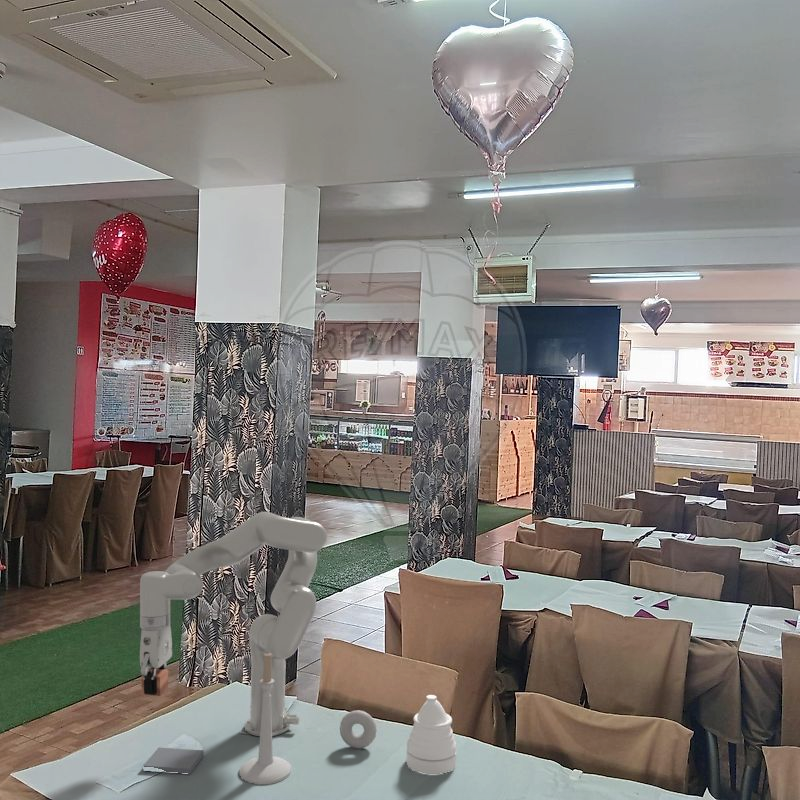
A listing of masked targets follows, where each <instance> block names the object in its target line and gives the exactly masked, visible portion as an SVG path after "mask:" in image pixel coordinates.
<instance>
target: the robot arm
mask: <svg viewBox="0 0 800 800" xmlns="http://www.w3.org/2000/svg"><path fill="white" fill-rule="evenodd" d="M327 535H328V534H327V531H326V529H325V528H324V526H323V525H322V524H321V523H319V522H317V521H313V520H310V519H308V518H305V517H301V516H293V517H290V518H289V517H285V516H281V515H278V514H276V513H272V512H269V511H260V512H258V513H256V514H255V515H253V516H251V517H250V518H248V519H247V520H245V521H244V522H242V523H241V524H240V525H238V526H236V527H235V528H234V529H232V530H230V531H229V532H227V534H225V535H224V536H222V537H220V538H218V539H216V540H213V541H211V542H208V543H206V544H203V545H202V546H199V547H197V548H194V549H192V550H190V551H189V552H188V553H186V554H185V555H183V556H181V557H180V558H178V559H177V560H176V561H174V562H173V563H171V565H169V566H168V567H167V569H166V570H165V571H163V570H154V571H148V572H145V573H143V574H142V575H141V577H140V579H139V581H140V582H139V583H140V584H139V585H140V586H139V593H140V594H139V596H140V597H139V604H140V605H139V628H140V629H141V634H140V643H139V644H140V645H139V646H140V647H139V666H140V667H141V668H140V674H141V676H142V675H143V679H144V694H150V695H149V696H152V695H155V694H156V693H157V679H155V675H156V669H166V670H167V668H168V665H167V662H168V661H169V660H170V659H171V658H172V657H173V639H172V627H171V600H176V601H177V600H179V601H180V600H183V601H187V600H192V599H195V598H196V597H198V596H199V595H200V594H201V592H202V591H203V588H204V581H203V579H202V577H201V576H202V575H204V574H206V573H208V572H209V571H212V570H215V569H219V568H225V567H226V568H227V567H233V566H236V565H239V564H240V563H242V562H243V561H244V560H246V559H247V558H249V557H250V556H251V555H253V554H254V553H256V552H257V551H258V550H260V549H262V548H263V547H264V546H269V547H272V548H275V549H282V550H286V551H287V550H288V557H287V560H286V563H285V566H284V568H283V570H282V572H281V575H280V576H279V578H278V580H277V582H276V583H275V586H274V588H273V590H272V591H271V595H270V598H269V599H270V600H269V601H270V604H271V606H272V608H273V609H275V610H276V611H277V612H278V613H279V615H278V616H276V615H274V614H270V613H265V614H261V615H258V616H257V617H256V618H255V619H253V621H252V623H251V625H250V628H249V632H248V633H249V634H248V636H249V638H248V639H249V647H250V657H251V658H250V659H251V660H250V661H251V662H250V663H251V664H250V665H251V669H250V670H251V673H250V712H249V713H250V714H249V715H250V717H249V718H248V719H247V720H246V721H245V722H244V731H245V732H246V731H247V732H246V733H247V734H249V735H252V736H256V737H260V731H261V717H262V702H263V694H264V691H263V689H262V683H261V682H260V680H262V679H263V664H264V654H265V653H271V654H272V664H271V679H274V682H273V683H272V688H271V691H270V694H271V716H272V737H275V736H278V735H281V734H284V733H286V732H287V731H288V730H289V729H290V727H291V725H295V726H296V725H297V726H298V725H299V724H300V717H299V716H298V714H290V713H288V708H287V707H286V702H285V701H286V668H287V667H286V660H287V659H288V658H290V657H292V655H294V654H295V653H296V651H297V650H298V648H299V646H300V645H301V643H302V641H303V640H304V637H305V634H306V633H307V630H308V629H309V627H310V625H311V622H312V620H313V619H314V616H315V614H316V609H317V599H316V598H317V597H316V595H315V594H314V592H313V591H312V590H311V588H309V586H310V584H311V581H312V580H313V579H312V578H313V577H314V575H315V573H316V570H317V569H316V568H317V565H318V552H319V551H320V550H322V549H323V548H324V546H325V545H326V543H327V540H328V539H327V538H328V536H327ZM150 665H151V666H150ZM149 669H152V673H151V672H150V671H148V670H149ZM285 707H286V708H285Z"/></svg>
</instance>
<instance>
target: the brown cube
mask: <svg viewBox="0 0 800 800" xmlns="http://www.w3.org/2000/svg"><path fill="white" fill-rule="evenodd" d="M148 671H150V672H151V673H152V669H148ZM140 678H141V679H140V680H141V682H140V683H141V689H140V690H141V691H140V693H141V696H153V697H154V696H155V697H160V696H162V695H163V694H164V693H165V692H166V691H167V690H168V689H169V669H167V668H166V669H156V675H155V679H157V693H156V694H155V695H150V694H144V679H143V675H142V674H141V677H140Z"/></svg>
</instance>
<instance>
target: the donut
mask: <svg viewBox="0 0 800 800" xmlns="http://www.w3.org/2000/svg"><path fill="white" fill-rule="evenodd" d="M357 724H359V725H360V726H362V728H363V733H361V734H357V733H355V732H354V731H353V726H354V725H357ZM339 733H340V737H341V739H342V742H344V743H345V744H346V745H347V746H349V747H351V748H353V749H364V748H366V747H369V746H370V745H371V744H372V743H373V742H374V740H375V738H376V735H377V725H376V723H375V720H374V718H373V717H372V716H371V715H370V714H369V713H367V712H366V711H364V710H359V709H357V710H356V709H355V710H352V711H349V712H348V713H346V714H345V715H344V716H343V717H342V719H341V722H340V726H339Z"/></svg>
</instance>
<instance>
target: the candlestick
mask: <svg viewBox="0 0 800 800" xmlns="http://www.w3.org/2000/svg"><path fill="white" fill-rule="evenodd" d="M271 664H272V654H271V653H265V654H264V664H263V679H262V680H260V682H261V683H262V689H263V691H264V694H263V702H262V717H261V731H260V736H259V746H258V747H259V748H258V756H257V757H254V758H251V759H249V760H246V762H244V763H243V764H242V765H241V766H240V768H239V774H240V775H239V774H238V775H239V777H240V776H241V777H240V779H242V780H243V779H244V780H245V781H244V780H243V781H244V782H246V781H248V782H247V783H249V782H250V783H249V784H252V783H254V784H253V785H262V784H263V785H273V784H276V783H279V782H281V781H284V780H286V779H287V778H288V777H289V776H290V775H291V773H292V765H291V764H290V762H289V761H287V760H285V759H284V758H281V757H279V756H275V755H274V751H273V750H274V747H273V736H272V716H271V694H270V691H271V688H272V683H273V682H274V679H271ZM263 785H262V786H263Z"/></svg>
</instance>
